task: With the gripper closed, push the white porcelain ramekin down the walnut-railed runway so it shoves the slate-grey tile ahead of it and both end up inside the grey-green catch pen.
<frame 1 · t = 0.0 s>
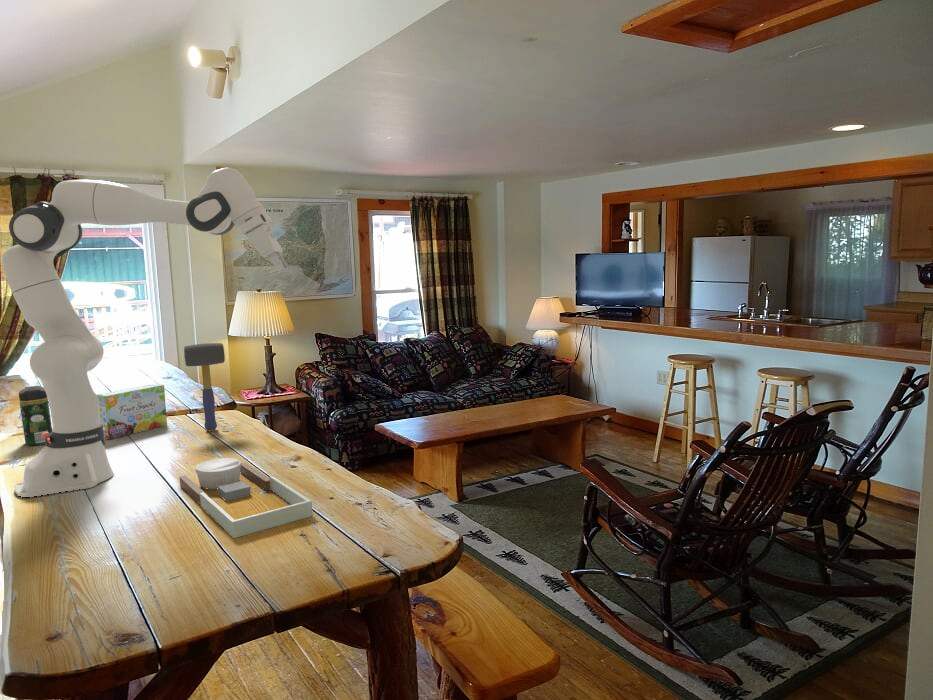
hand: (283, 269, 179), 54 cm above the table, tool tilted 30°, fingers open, 8 cm apart
catch pen: (254, 510, 152), on the table
snack box: (135, 432, 227), on the table
slate tile: (234, 496, 163), on the table
rubber mallet: (211, 431, 225), on the table
ramekin: (220, 484, 171), on the table
coffee jar: (39, 442, 217), on the table
runway rails: (225, 487, 168), on the table
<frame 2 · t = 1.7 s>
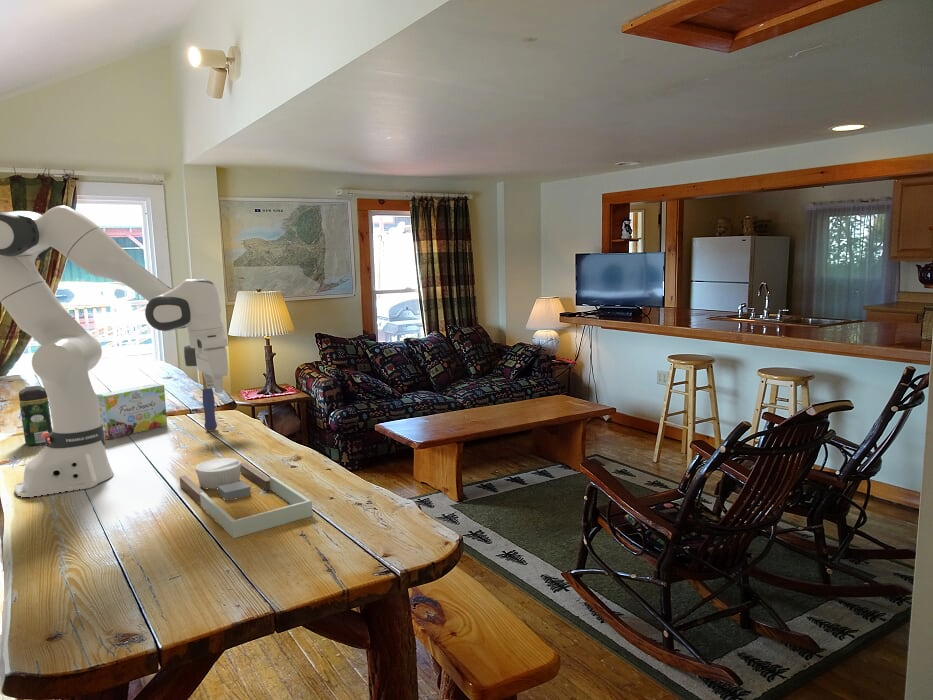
hand: (214, 390, 178), 23 cm above the table, tool pointing down, fingers open, 8 cm apart
nothing on the table moved.
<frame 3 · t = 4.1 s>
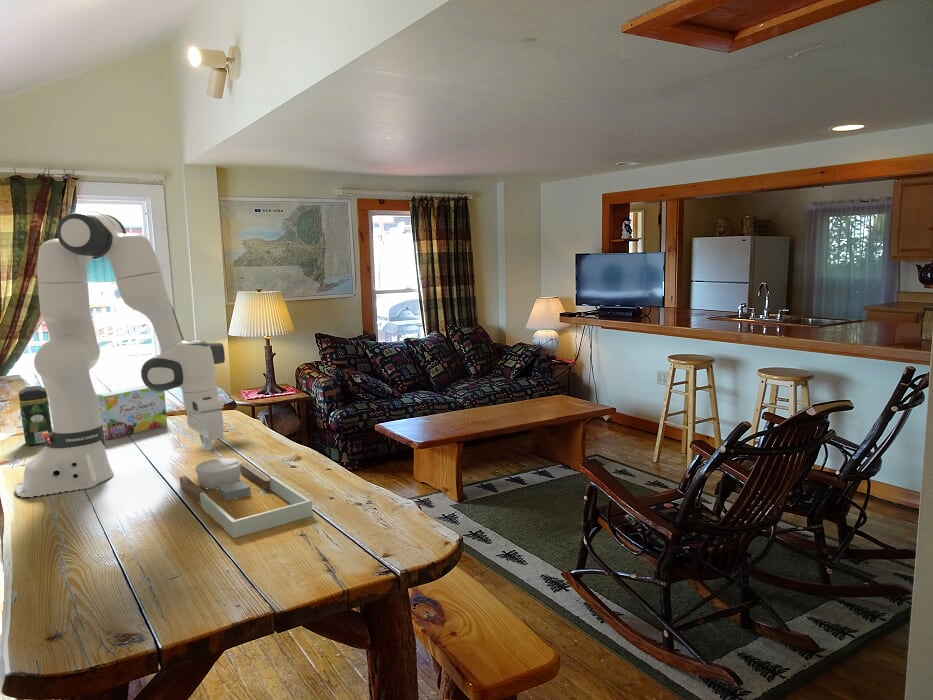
hand: (207, 449, 180), 6 cm above the table, tool pointing down, fingers closed
nothing on the table moved.
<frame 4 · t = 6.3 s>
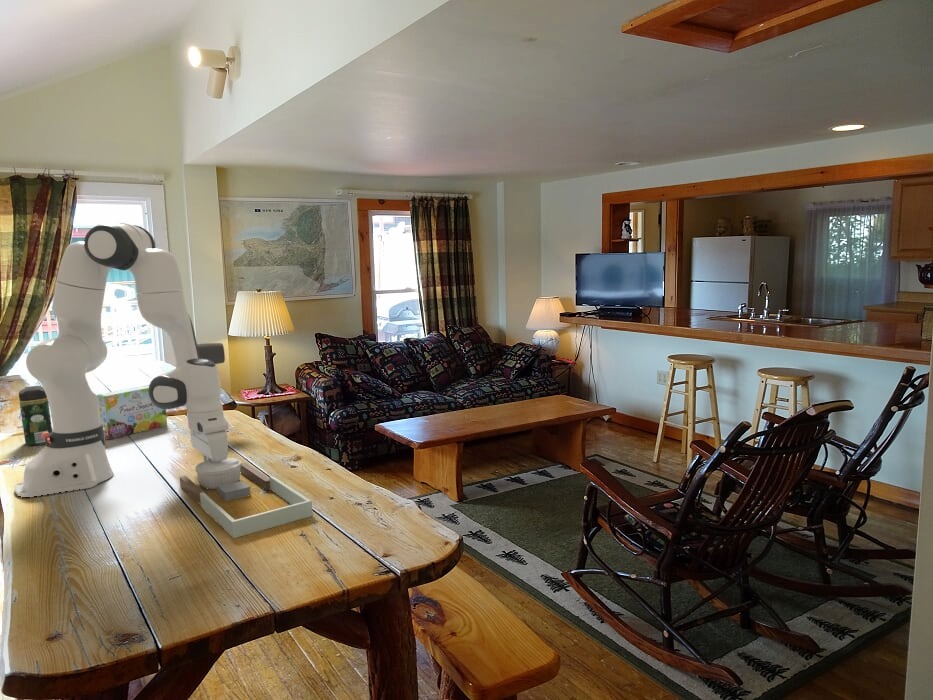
hand: (210, 469, 177), 2 cm above the table, tool pointing down, fingers closed
ramekin: (220, 484, 171), on the table, touching gripper
everything else where it was.
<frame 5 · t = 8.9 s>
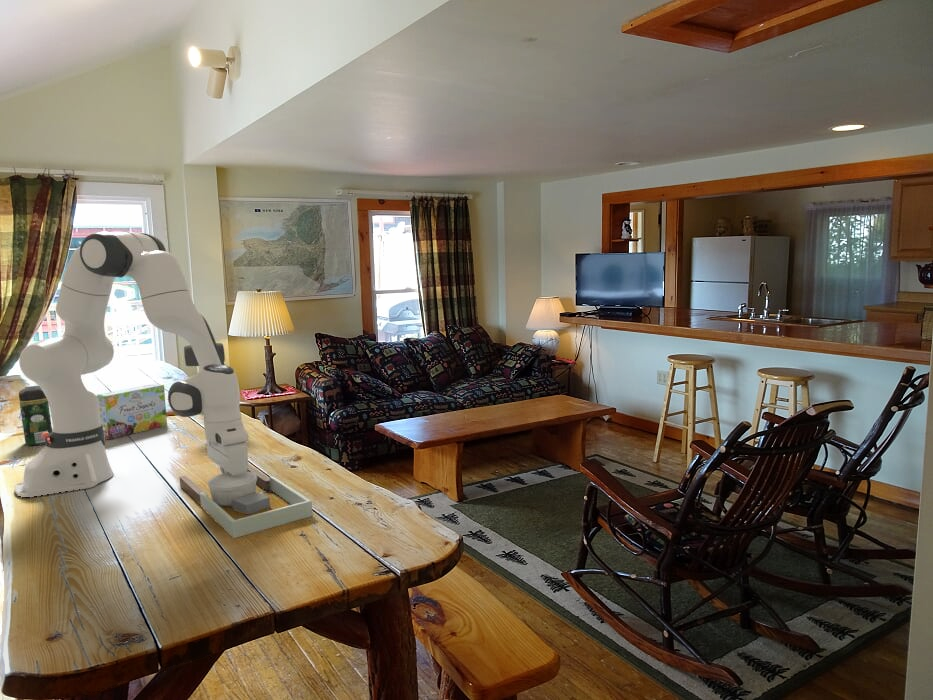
hand: (228, 483, 166), 2 cm above the table, tool pointing down, fingers closed
slate tile: (251, 508, 154), on the table
ramekin: (234, 500, 159), on the table, touching gripper
everything else where it was.
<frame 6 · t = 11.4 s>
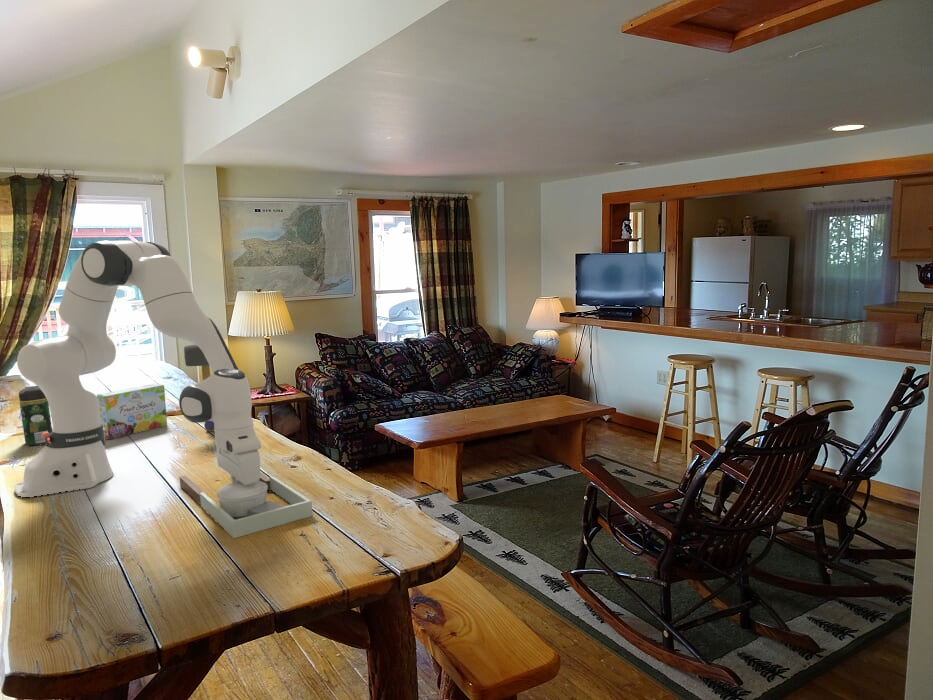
hand: (239, 492, 159), 2 cm above the table, tool pointing down, fingers closed
slate tile: (268, 518, 148), on the table
ramekin: (244, 511, 152), on the table, touching gripper
everything else where it was.
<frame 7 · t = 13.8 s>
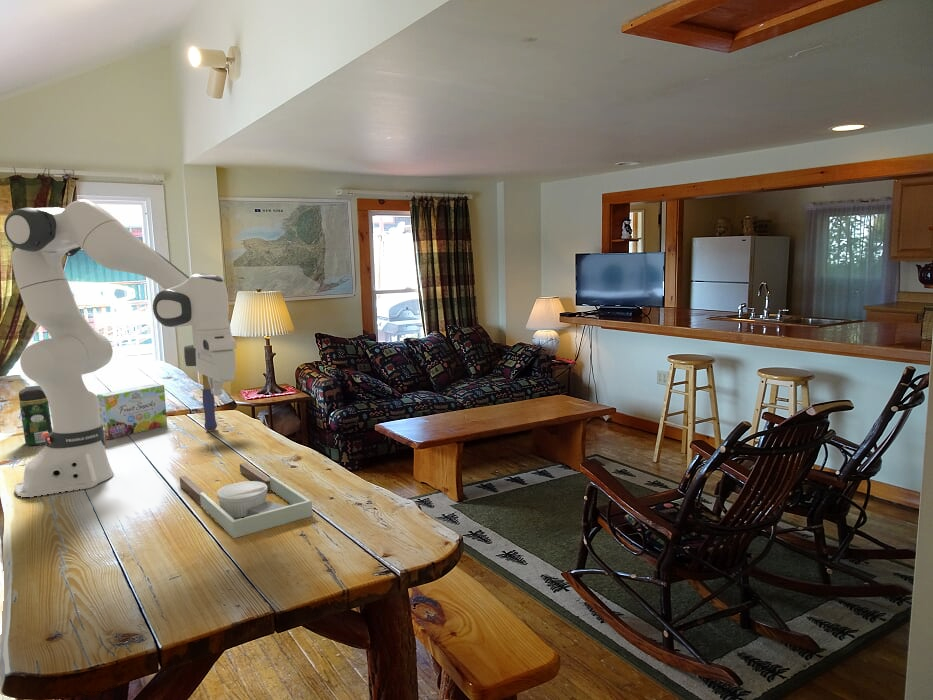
hand: (216, 394, 165), 24 cm above the table, tool pointing down, fingers closed
ramekin: (244, 511, 152), on the table
everything else where it was.
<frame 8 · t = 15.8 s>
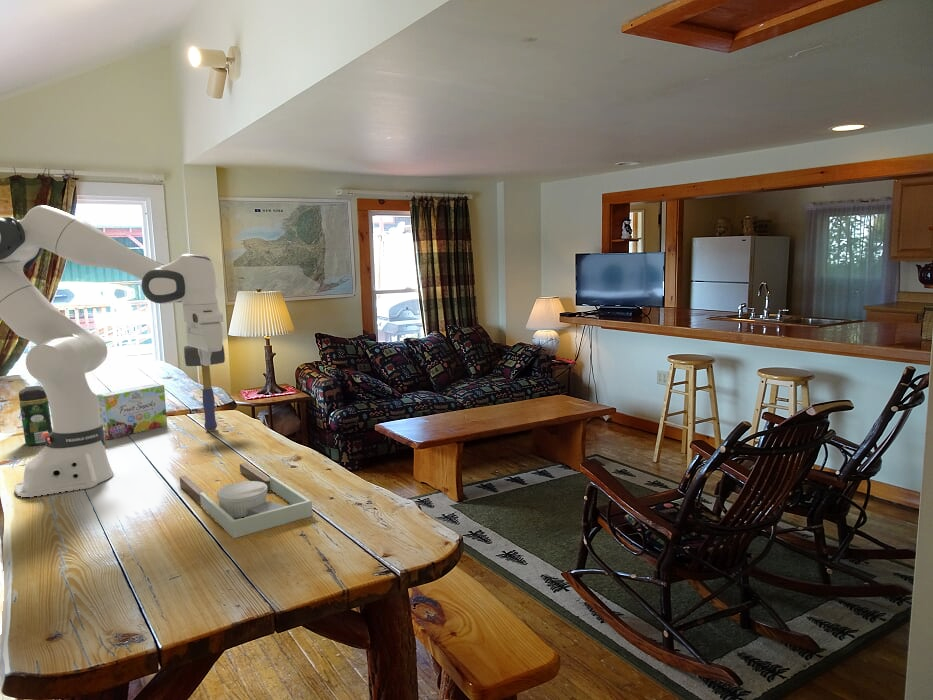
hand: (205, 365, 180), 29 cm above the table, tool pointing down, fingers closed
nothing on the table moved.
at the end: ramekin inside the target area on the catch pen (2.4 cm from its centre), point 0.0 cm above the catch pen's base; slate tile inside the target area on the catch pen (5.5 cm from its centre), point 0.0 cm above the catch pen's base; ramekin tilted 0° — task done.
